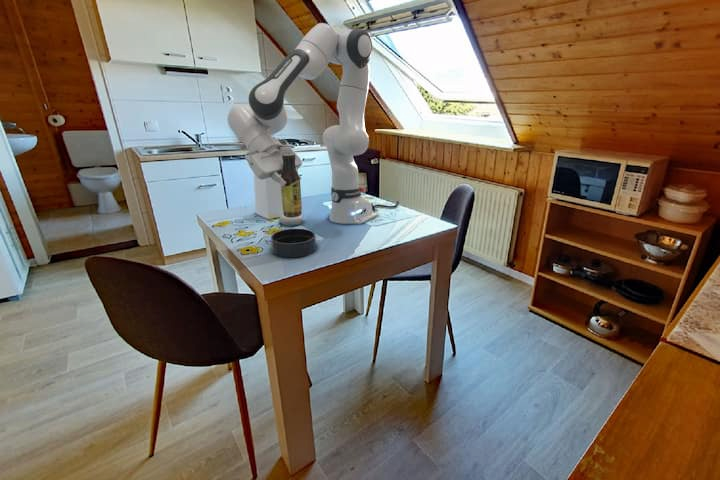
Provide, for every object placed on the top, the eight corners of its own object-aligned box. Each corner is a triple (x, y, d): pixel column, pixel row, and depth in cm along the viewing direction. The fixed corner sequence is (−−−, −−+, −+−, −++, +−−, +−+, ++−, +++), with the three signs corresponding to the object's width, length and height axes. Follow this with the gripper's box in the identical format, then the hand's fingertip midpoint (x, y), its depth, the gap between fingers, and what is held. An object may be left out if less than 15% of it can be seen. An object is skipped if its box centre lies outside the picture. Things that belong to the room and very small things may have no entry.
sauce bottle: (298, 218, 112) (293, 156, 104) (280, 217, 113) (274, 155, 105) (305, 212, 118) (301, 153, 110) (287, 211, 119) (282, 152, 111)
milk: (255, 213, 159) (249, 155, 149) (278, 208, 166) (273, 153, 156) (268, 219, 150) (262, 158, 141) (291, 214, 158) (287, 156, 148)
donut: (304, 219, 151) (281, 219, 150) (304, 212, 150) (280, 211, 149) (302, 227, 142) (278, 227, 141) (302, 219, 140) (277, 219, 140)
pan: (298, 238, 129) (298, 225, 128) (324, 249, 120) (323, 235, 118) (263, 249, 119) (262, 235, 118) (288, 262, 110) (287, 247, 108)
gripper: (246, 146, 101) (276, 182, 100) (289, 139, 118) (314, 170, 118) (237, 160, 104) (266, 195, 104) (279, 152, 121) (304, 182, 121)
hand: (292, 182), depth 111 cm, fingers closed on sauce bottle, 6 cm apart
